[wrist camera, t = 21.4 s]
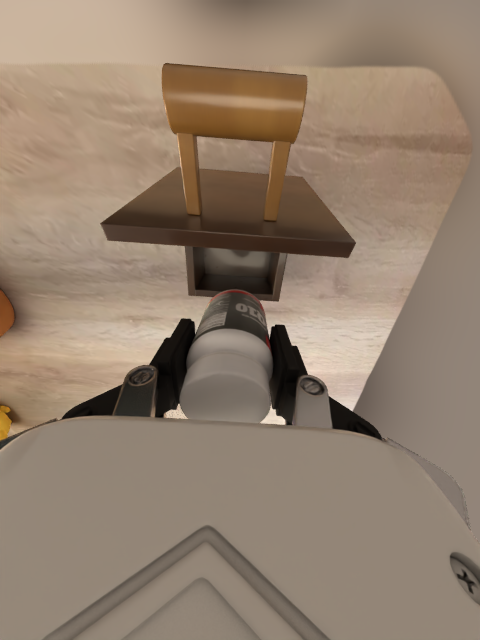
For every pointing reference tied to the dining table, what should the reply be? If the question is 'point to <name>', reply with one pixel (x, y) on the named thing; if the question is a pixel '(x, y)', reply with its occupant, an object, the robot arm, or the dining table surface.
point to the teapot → (4, 422)
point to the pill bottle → (229, 362)
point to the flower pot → (5, 314)
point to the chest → (234, 272)
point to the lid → (228, 186)
